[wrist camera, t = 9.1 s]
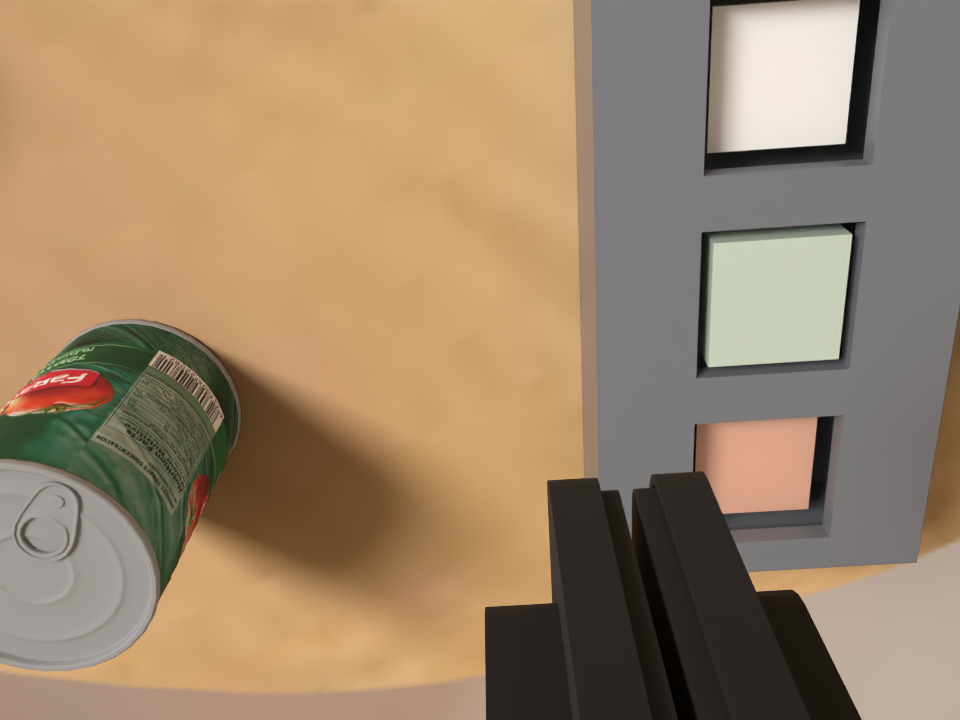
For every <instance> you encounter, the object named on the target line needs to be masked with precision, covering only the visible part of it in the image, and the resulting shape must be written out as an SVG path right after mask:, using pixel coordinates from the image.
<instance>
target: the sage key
mask: <svg viewBox="0 0 960 720" xmlns="http://www.w3.org/2000/svg"><path fill="white" fill-rule="evenodd" d="M851 242H852V234H851V233H850V232H849V231H848V230H846V229H845V228H844V227H843V226H841V225H840V224H839V223H833V224H818V225H803V226H788V227H773V228H758V229H743V230H728V231H713V232H702V235H701V263H700V290H699V317H698V344H697V347H698V349H699V351H700V352H701V354H702V356H703V358H704V360H705V362H706V364H707V366H708V367H720V366H736V365H752V364H768V363H784V362H800V361H816V360H832V359H839V352H840V342H841V333H842V324H843V315H844V306H845V297H846V288H847V279H848V270H849V261H850V252H851Z"/></svg>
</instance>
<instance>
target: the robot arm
mask: <svg viewBox="0 0 960 720" xmlns="http://www.w3.org/2000/svg"><path fill="white" fill-rule="evenodd" d="M547 491H548V515H549V537H550V560H551V582H552V603H550V604H532V605H515V606H497V607H485V663H486V720H861V718H860V715H859V713H858V711H857V709H856V707H855V705H854V703H853V701H852V699H851V697H850V695H849V693H848V691H847V689H846V687H845V685H844V683H843V681H842V679H841V677H840V675H839V673H838V671H837V669H836V667H835V665H834V663H833V661H832V659H831V657H830V655H829V653H828V651H827V649H826V646H825V644H824V642H823V640H822V638H821V636H820V634H819V632H818V630H817V628H816V626H815V624H814V622H813V620H812V618H811V616H810V614H809V612H808V610H807V608H806V606H805V604H804V602H803V601H802V599H801V598H800V596H799V594H797V593H796V592H795V591H793V590H778V591H761V592H756V591H755V588H754V586H753V584H752V581H751V579H750V577H749V574H748V572H747V569H746V567H745V565H744V562H743V560H742V558H741V555H740V553H739V551H738V548H737V546H736V544H735V541H734V539H733V537H732V534H731V532H730V530H729V527H728V525H727V523H726V520H725V518H724V516H723V513H722V511H721V509H720V506H719V504H718V502H717V499H716V497H715V495H714V492H713V490H712V488H711V485H710V483H709V481H708V478H707V476H706V475H705V473H704V472H702V471H698V472H681V473H664V474H652V475H651V478H650V484H649V488H638V489H633V492H632V539H631V535H630V531H629V527H628V524H627V520H626V516H625V512H624V508H623V504H622V500H621V496H620V493H619V491H618V490H605V491H601V488H600V484H599V481H598V478H582V479H565V480H549V481H548V482H547Z"/></svg>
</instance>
